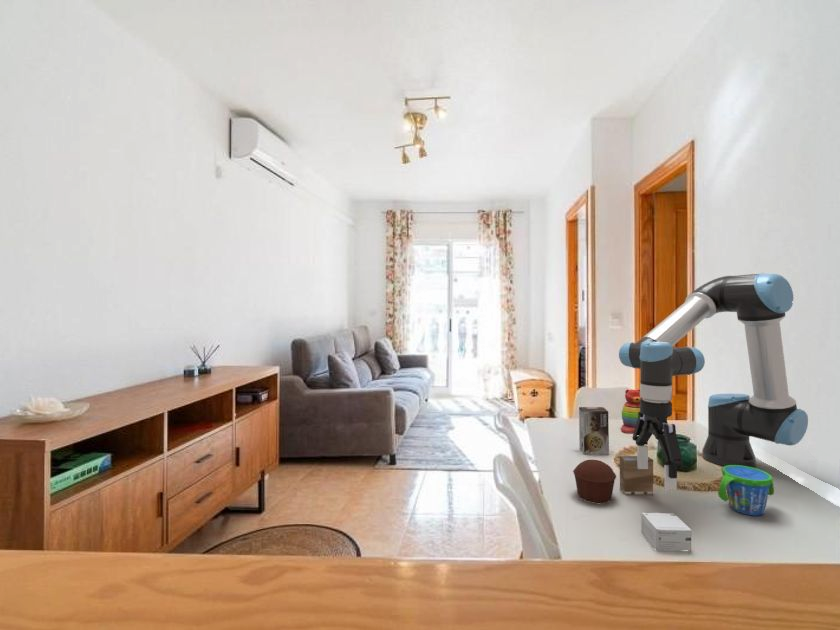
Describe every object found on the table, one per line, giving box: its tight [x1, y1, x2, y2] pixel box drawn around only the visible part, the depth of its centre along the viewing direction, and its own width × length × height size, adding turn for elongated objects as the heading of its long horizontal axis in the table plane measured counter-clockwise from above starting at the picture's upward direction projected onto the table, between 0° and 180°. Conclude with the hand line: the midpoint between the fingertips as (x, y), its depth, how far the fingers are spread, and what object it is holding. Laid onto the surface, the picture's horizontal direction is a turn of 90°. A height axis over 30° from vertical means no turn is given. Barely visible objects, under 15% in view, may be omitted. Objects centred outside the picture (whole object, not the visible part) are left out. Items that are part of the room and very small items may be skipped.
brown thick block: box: [619, 455, 654, 496], centre depth 125 cm, size 4×8×10 cm, turn 90°
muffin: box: [572, 459, 617, 504], centre depth 122 cm, size 12×11×10 cm
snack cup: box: [717, 465, 775, 516], centre depth 113 cm, size 16×10×10 cm
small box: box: [640, 512, 692, 552], centre depth 99 cm, size 8×8×5 cm
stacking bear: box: [620, 389, 642, 435], centre depth 184 cm, size 11×10×18 cm
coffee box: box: [578, 406, 610, 455], centre depth 159 cm, size 9×6×16 cm
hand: (655, 478), depth 115 cm, fingers open, 13 cm apart
